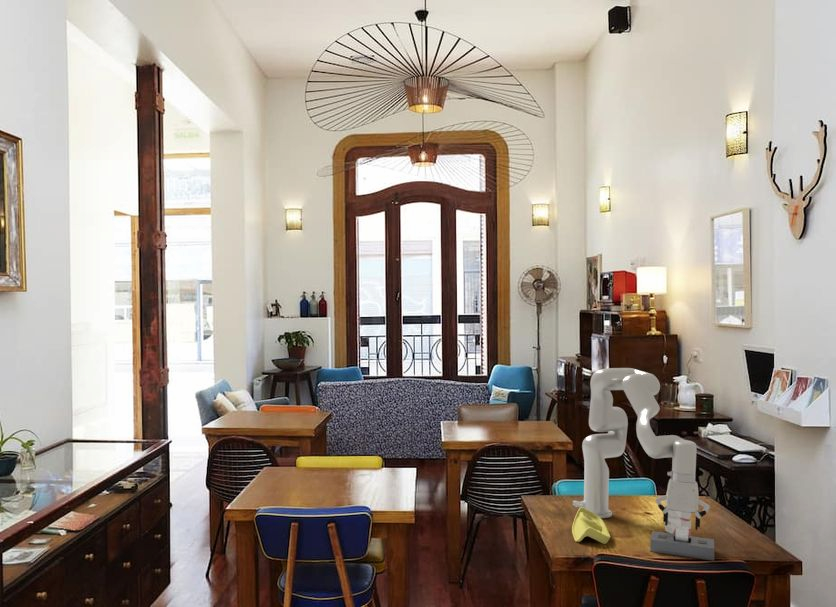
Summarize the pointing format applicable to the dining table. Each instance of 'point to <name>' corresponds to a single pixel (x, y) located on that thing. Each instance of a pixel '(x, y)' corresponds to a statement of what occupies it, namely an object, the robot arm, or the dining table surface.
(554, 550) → the dining table surface
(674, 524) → the ink cartridge box
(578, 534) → the plastic component
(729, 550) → the dining table surface
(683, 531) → the steel peg
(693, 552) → the grey slotted block
